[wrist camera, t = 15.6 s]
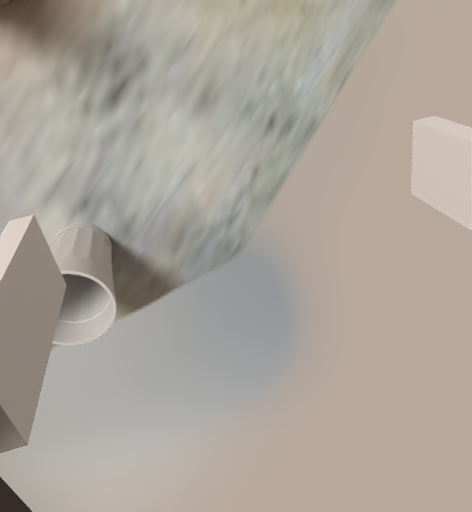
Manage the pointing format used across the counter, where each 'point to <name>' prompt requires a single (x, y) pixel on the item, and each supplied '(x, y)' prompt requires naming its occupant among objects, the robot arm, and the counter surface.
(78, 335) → the cup
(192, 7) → the counter surface
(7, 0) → the walnut board
